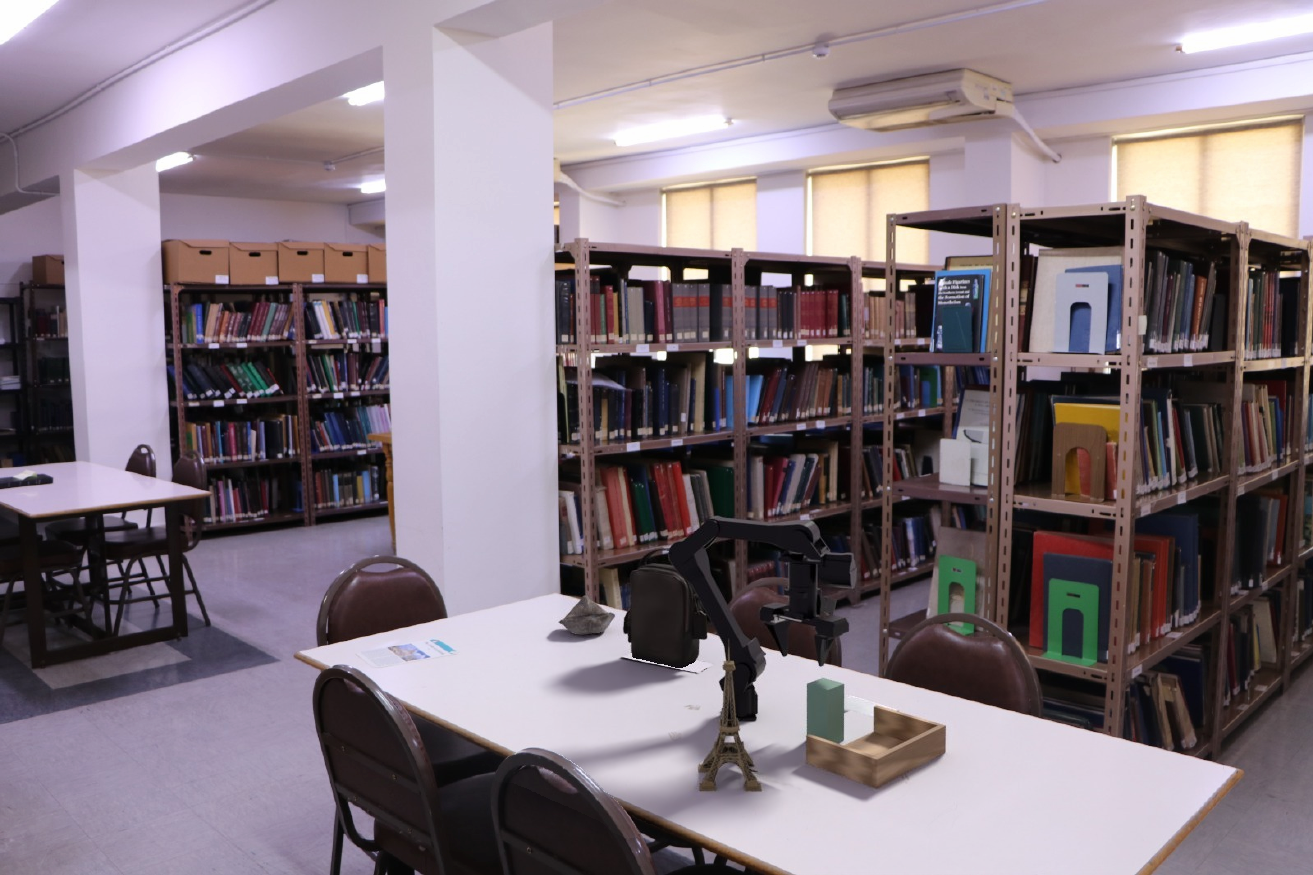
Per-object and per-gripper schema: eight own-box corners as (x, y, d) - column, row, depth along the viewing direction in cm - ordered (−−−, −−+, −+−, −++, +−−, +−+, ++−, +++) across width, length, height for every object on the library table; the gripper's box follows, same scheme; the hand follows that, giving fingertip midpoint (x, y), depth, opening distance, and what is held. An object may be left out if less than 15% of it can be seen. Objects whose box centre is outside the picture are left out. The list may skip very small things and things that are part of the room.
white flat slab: (826, 703, 209) (876, 719, 200) (850, 694, 215) (899, 708, 206) (826, 711, 209) (876, 727, 200) (850, 701, 215) (899, 716, 206)
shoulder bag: (717, 664, 240) (717, 549, 238) (697, 674, 233) (697, 555, 230) (640, 649, 253) (639, 540, 250) (619, 658, 245) (617, 546, 243)
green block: (806, 745, 190) (806, 683, 189) (822, 738, 193) (822, 677, 192) (827, 752, 186) (828, 690, 185) (843, 745, 190) (844, 683, 189)
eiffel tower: (698, 766, 181) (698, 631, 179) (757, 766, 181) (757, 630, 179) (699, 791, 170) (698, 648, 168) (761, 791, 170) (761, 648, 168)
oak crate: (806, 768, 179) (806, 735, 179) (876, 735, 194) (876, 705, 194) (876, 794, 168) (877, 759, 168) (945, 757, 183) (946, 725, 183)
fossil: (552, 638, 264) (551, 601, 263) (565, 624, 278) (565, 588, 277) (608, 640, 261) (608, 602, 260) (619, 625, 275) (619, 590, 274)
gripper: (865, 585, 197) (865, 662, 198) (791, 571, 210) (791, 643, 212) (831, 594, 189) (831, 675, 190) (756, 579, 203) (757, 654, 204)
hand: (802, 661), depth 199 cm, fingers open, 9 cm apart
